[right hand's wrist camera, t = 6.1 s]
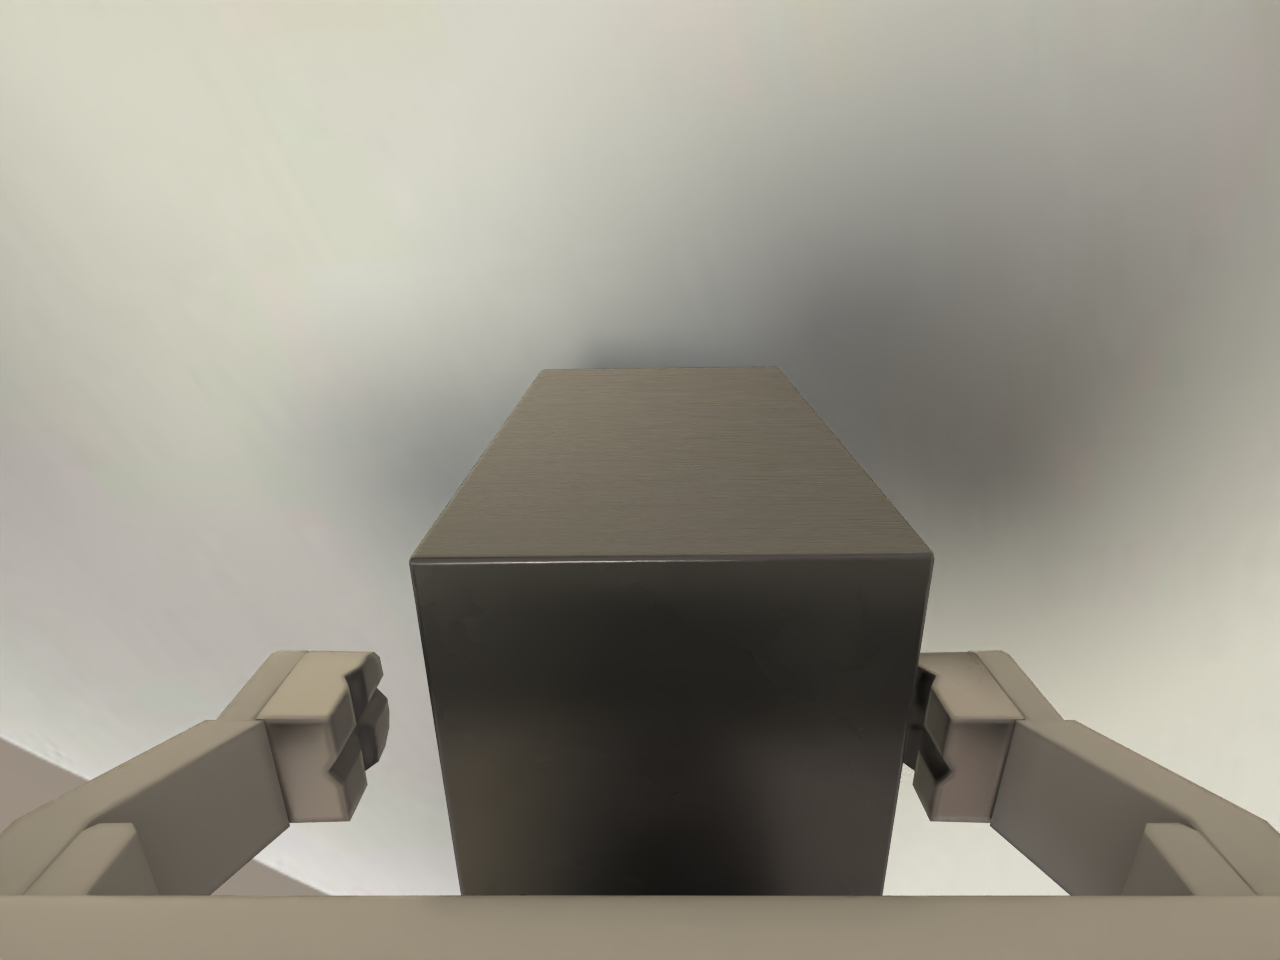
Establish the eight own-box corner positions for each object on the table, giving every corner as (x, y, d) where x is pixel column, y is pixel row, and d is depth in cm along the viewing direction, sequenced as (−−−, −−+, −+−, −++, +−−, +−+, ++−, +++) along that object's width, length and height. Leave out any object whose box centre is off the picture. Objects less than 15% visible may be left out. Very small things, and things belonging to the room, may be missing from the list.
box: (540, 368, 17) (405, 558, 8) (778, 365, 17) (938, 553, 8) (581, 954, 25) (540, 1409, 15) (745, 955, 25) (803, 1413, 15)
